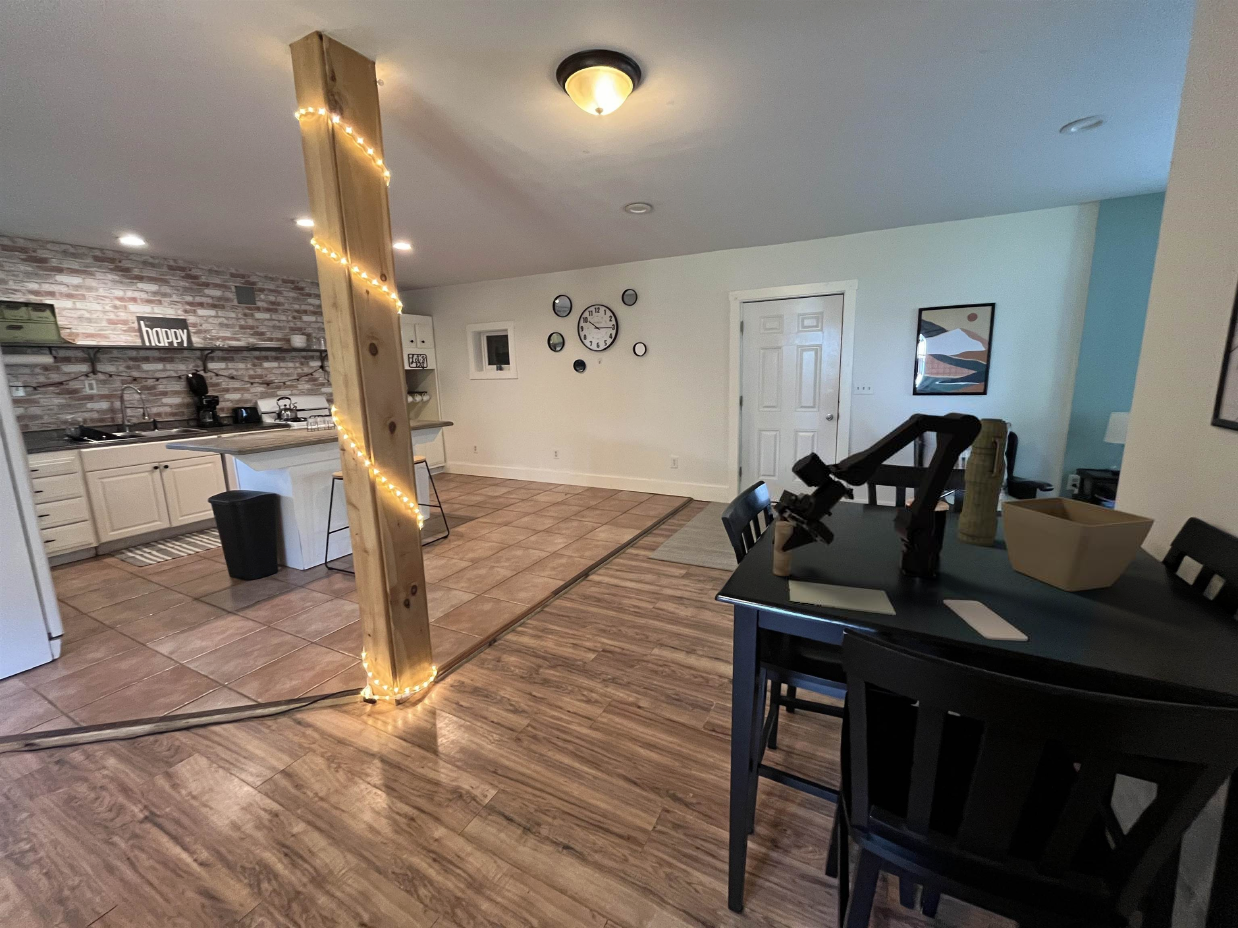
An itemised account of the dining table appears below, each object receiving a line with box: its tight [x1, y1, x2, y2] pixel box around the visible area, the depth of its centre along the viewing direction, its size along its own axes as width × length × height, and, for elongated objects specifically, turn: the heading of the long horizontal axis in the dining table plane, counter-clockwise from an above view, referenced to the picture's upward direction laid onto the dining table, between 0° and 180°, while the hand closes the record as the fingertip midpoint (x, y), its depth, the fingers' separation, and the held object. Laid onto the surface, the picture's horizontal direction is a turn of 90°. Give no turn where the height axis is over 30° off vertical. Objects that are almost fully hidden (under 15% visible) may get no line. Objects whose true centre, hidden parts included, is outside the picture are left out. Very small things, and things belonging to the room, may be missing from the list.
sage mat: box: [788, 580, 897, 616], centre depth 104 cm, size 20×10×1 cm, turn 73°
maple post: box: [772, 521, 793, 577], centre depth 115 cm, size 4×4×12 cm
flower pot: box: [1000, 496, 1155, 592], centre depth 110 cm, size 19×19×17 cm
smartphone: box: [943, 599, 1029, 642], centre depth 94 cm, size 7×1×15 cm
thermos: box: [956, 417, 1009, 547], centre depth 134 cm, size 9×12×35 cm
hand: (777, 547), depth 115 cm, fingers closed on maple post, 4 cm apart
